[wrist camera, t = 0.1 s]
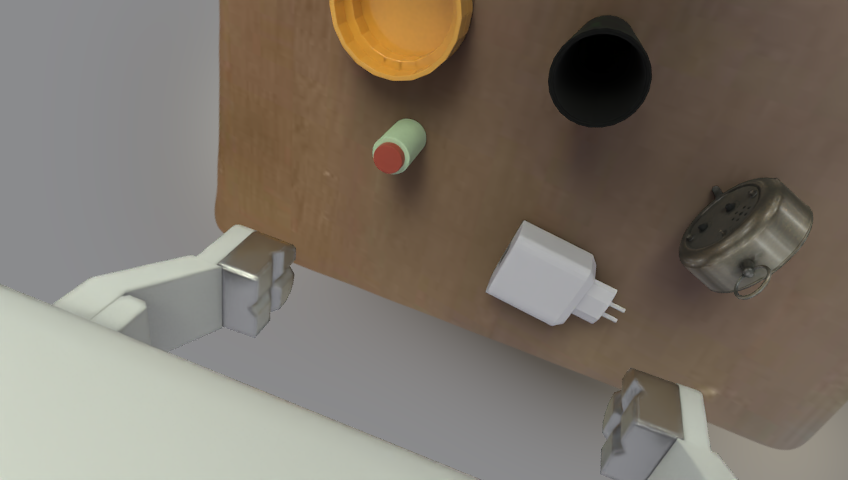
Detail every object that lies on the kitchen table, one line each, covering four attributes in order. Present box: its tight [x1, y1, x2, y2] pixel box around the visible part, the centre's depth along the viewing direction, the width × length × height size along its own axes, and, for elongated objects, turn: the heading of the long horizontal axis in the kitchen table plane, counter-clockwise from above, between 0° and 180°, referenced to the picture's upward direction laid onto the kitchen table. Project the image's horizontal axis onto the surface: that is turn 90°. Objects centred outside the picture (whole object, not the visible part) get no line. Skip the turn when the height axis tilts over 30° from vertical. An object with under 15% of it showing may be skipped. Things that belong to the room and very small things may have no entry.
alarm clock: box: [679, 178, 813, 300], centre depth 51 cm, size 11×5×16 cm, turn 144°
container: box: [372, 119, 426, 174], centre depth 62 cm, size 4×4×7 cm
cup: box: [548, 15, 652, 127], centre depth 49 cm, size 8×8×12 cm
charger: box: [486, 220, 625, 326], centre depth 66 cm, size 5×9×15 cm
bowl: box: [330, 0, 473, 81], centre depth 55 cm, size 13×13×5 cm
